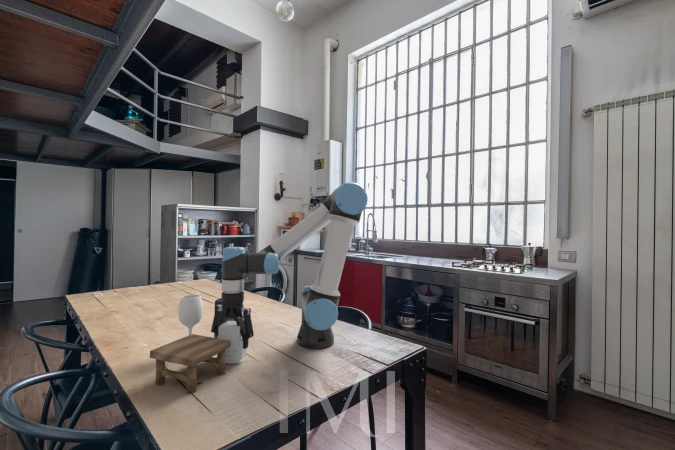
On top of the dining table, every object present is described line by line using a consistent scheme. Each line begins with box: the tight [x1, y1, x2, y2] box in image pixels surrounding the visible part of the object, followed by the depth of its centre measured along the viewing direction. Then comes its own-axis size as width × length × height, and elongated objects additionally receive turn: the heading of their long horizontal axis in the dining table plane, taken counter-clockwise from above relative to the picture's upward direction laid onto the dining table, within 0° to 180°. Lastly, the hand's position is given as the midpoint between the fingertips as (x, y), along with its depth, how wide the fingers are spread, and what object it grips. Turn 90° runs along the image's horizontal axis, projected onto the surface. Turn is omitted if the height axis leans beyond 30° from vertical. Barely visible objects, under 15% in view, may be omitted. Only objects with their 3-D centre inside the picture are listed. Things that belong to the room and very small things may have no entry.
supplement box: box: [218, 321, 243, 364], centre depth 113 cm, size 7×7×13 cm
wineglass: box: [177, 293, 204, 336], centre depth 117 cm, size 9×9×21 cm
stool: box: [149, 333, 231, 394], centre depth 99 cm, size 16×16×10 cm
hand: (231, 355), depth 113 cm, fingers closed on supplement box, 9 cm apart
